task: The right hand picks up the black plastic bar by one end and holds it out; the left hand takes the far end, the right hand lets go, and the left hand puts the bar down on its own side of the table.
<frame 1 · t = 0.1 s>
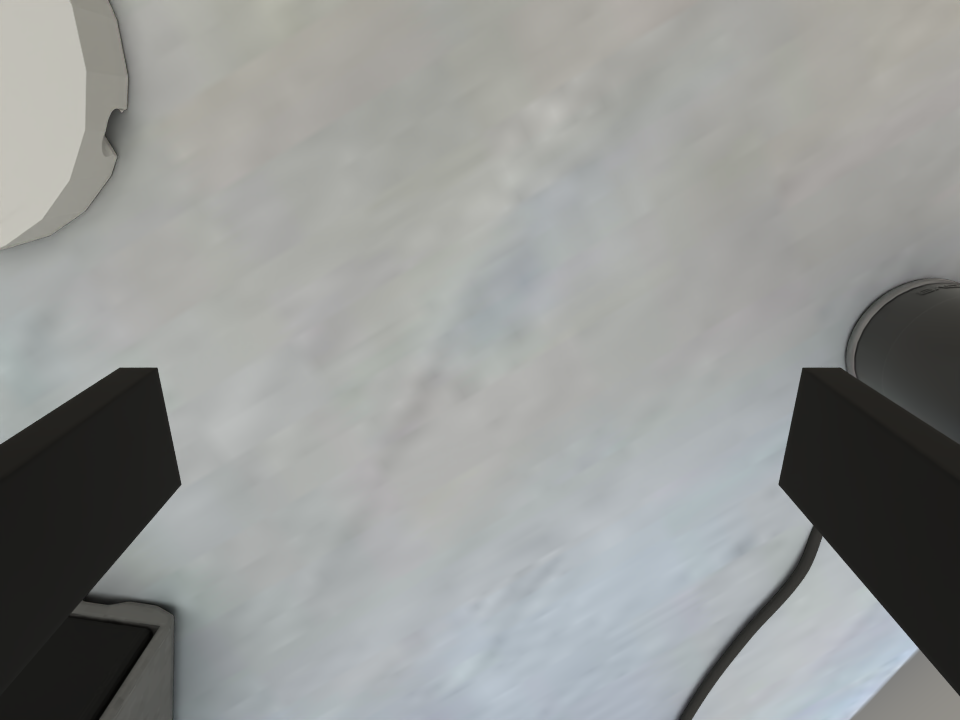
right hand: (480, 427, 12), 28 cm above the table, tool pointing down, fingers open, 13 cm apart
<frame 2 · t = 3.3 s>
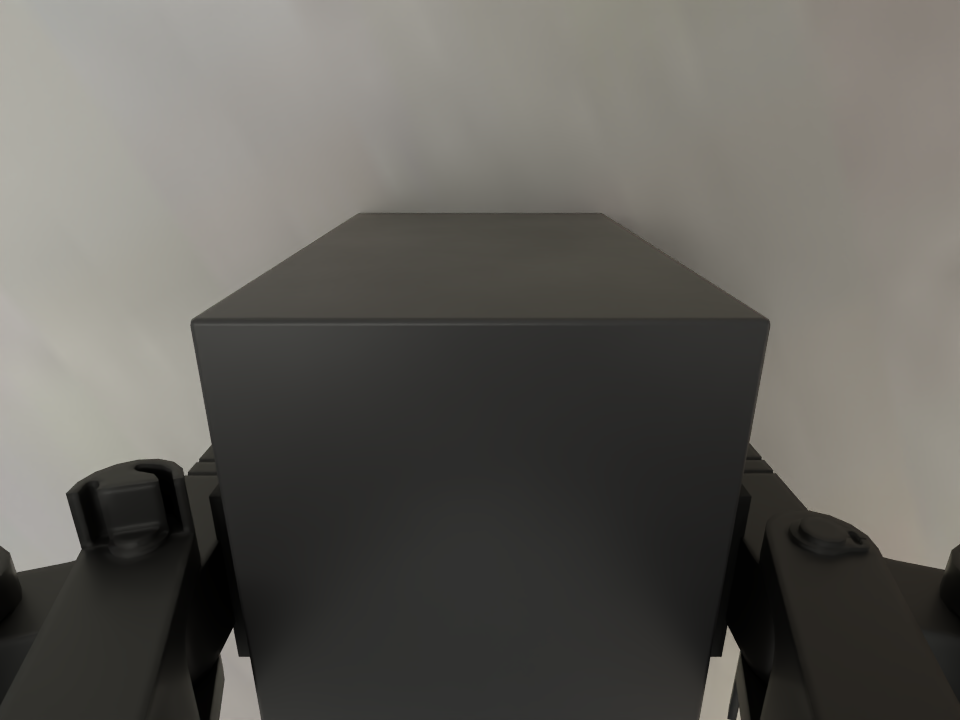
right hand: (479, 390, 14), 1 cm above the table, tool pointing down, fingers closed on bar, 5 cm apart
bar: (480, 667, 18), on the table, touching right hand
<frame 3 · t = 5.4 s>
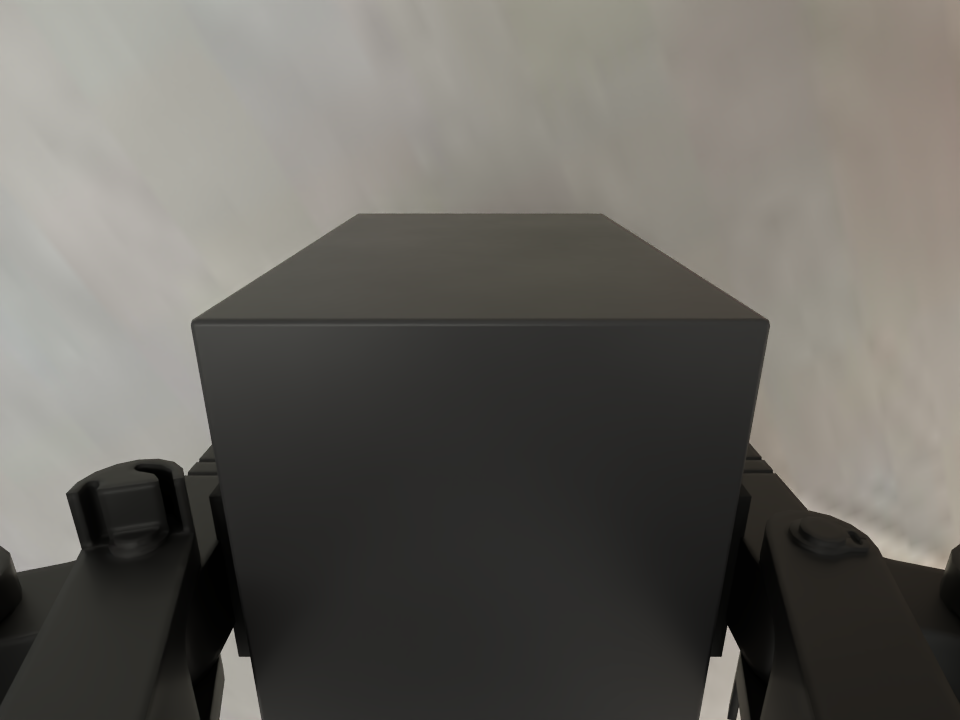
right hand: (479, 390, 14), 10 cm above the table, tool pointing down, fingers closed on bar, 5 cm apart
bar: (480, 667, 18), point 9 cm above the table, touching right hand
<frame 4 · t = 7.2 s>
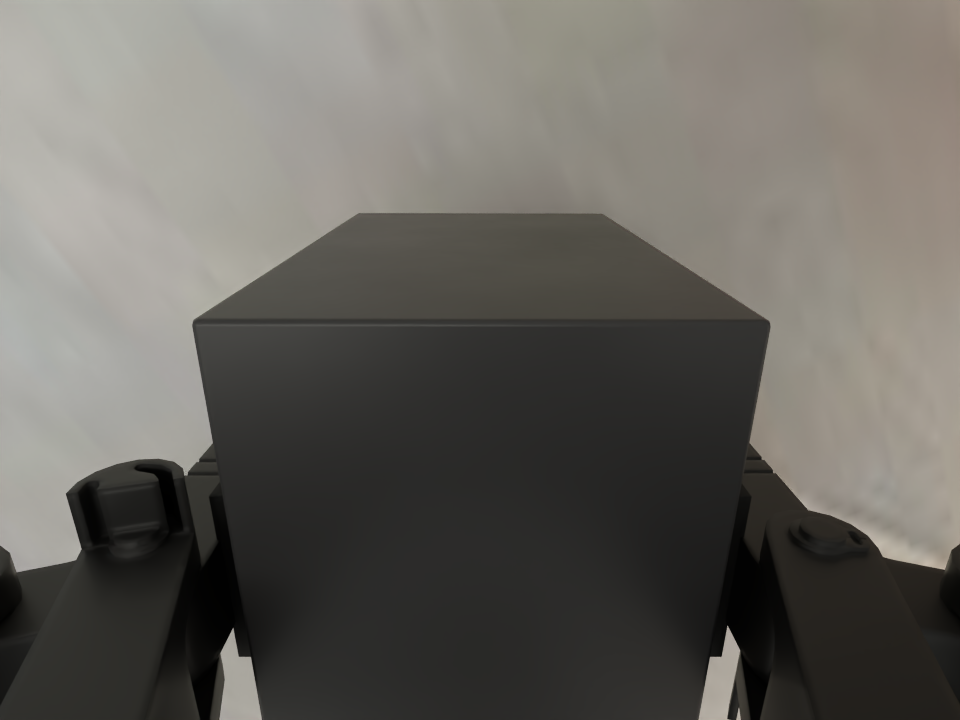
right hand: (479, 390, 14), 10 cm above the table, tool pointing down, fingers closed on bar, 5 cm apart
bar: (479, 666, 18), point 9 cm above the table, touching right hand, left hand
when the right hand's fingers open (10 cm above the table, at t = 8.0 s): bar stays where it is, held by the left hand.
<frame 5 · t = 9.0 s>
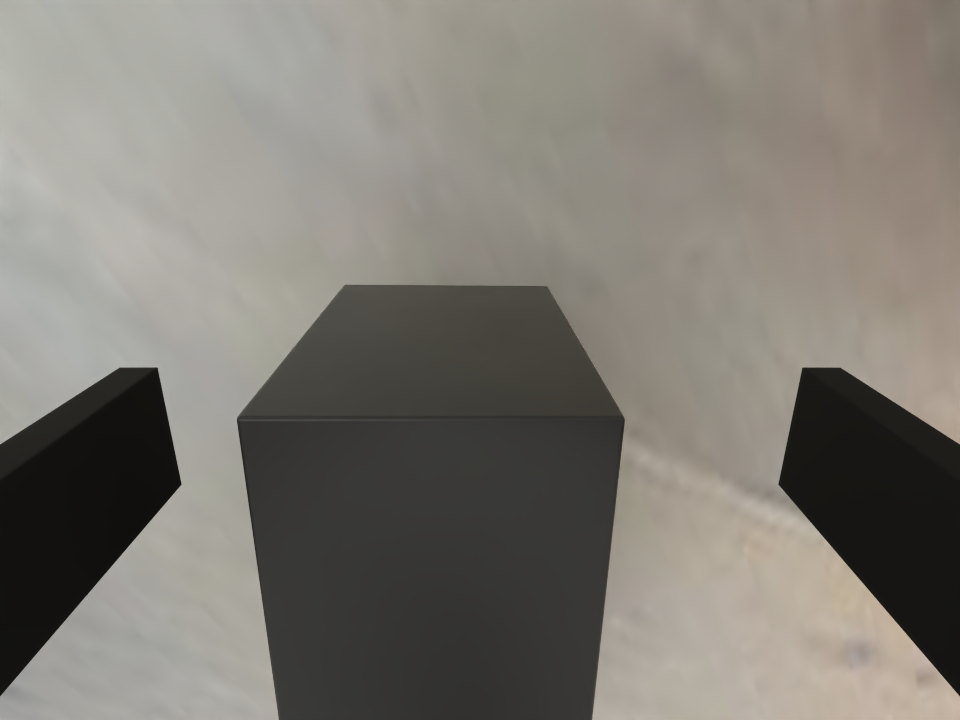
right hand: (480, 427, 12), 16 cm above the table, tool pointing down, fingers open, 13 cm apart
bar: (448, 663, 21), point 12 cm above the table, touching left hand
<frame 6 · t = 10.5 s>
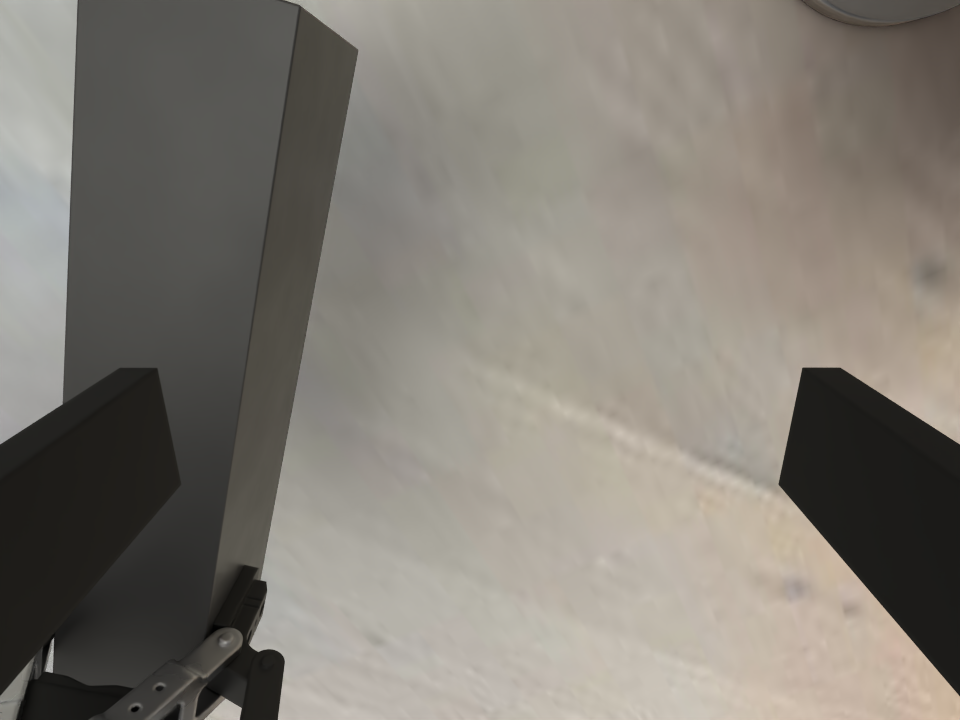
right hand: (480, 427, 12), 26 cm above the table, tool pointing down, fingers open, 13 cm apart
bar: (240, 348, 27), point 12 cm above the table, touching left hand
when the left hand's fingers open (6 cm above the table, at t = 14.3 s): bar stays where it is, resting on ashtray.
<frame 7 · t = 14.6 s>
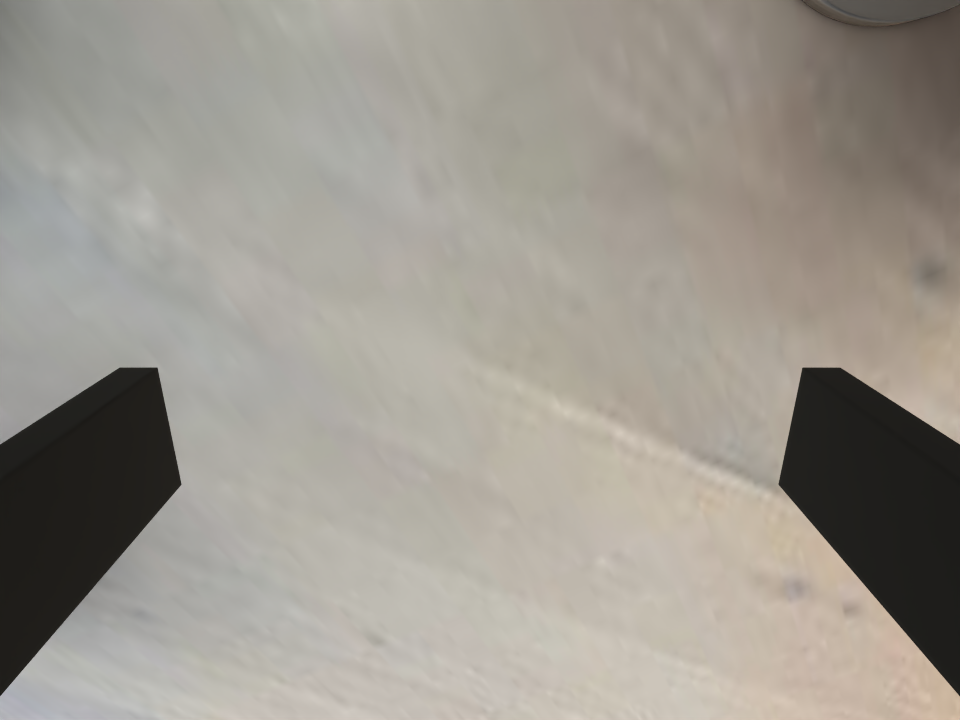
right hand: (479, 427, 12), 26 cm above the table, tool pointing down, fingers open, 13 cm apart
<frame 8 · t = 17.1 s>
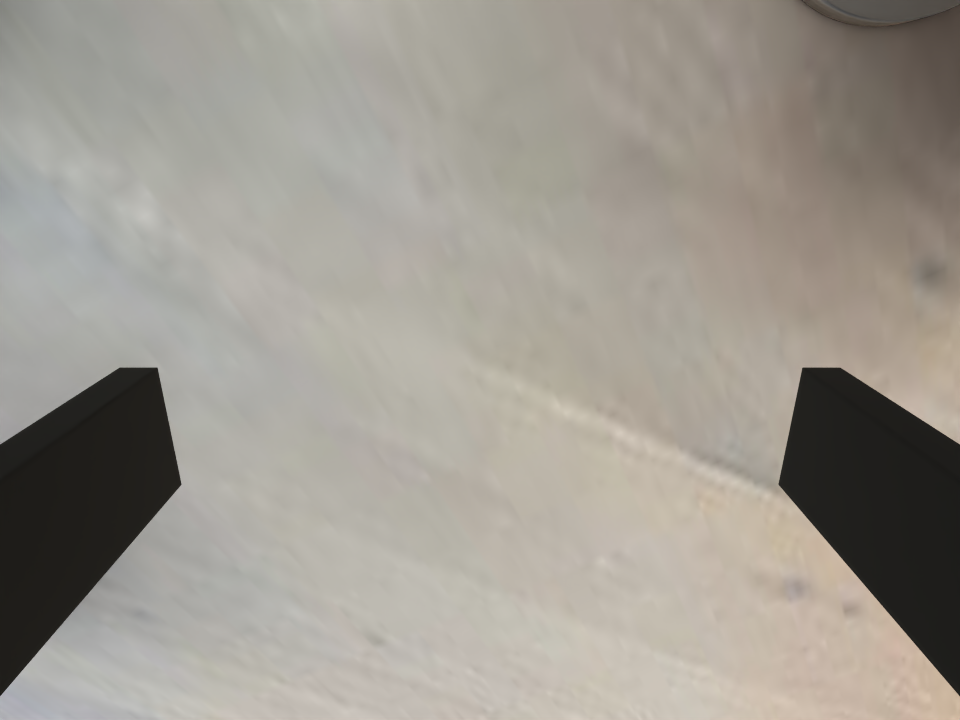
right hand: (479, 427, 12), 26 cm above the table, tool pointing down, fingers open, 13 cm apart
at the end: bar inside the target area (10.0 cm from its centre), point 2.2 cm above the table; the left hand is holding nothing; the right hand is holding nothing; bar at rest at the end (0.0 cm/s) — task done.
